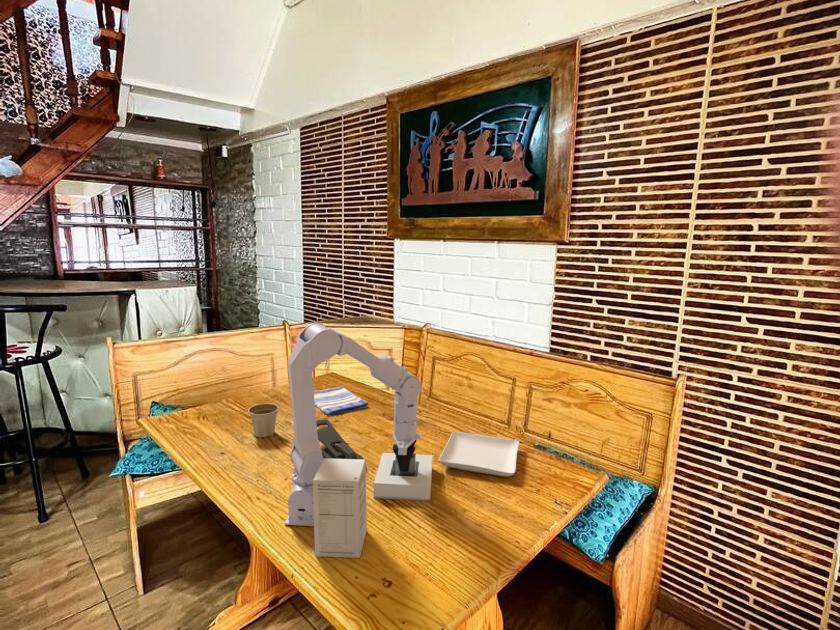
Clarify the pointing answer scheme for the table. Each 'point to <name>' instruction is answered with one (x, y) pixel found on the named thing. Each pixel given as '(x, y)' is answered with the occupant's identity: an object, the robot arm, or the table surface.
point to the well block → (403, 479)
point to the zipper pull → (332, 437)
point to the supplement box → (340, 508)
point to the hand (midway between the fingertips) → (404, 468)
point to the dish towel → (338, 401)
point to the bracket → (411, 468)
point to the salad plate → (480, 454)
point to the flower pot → (263, 419)
